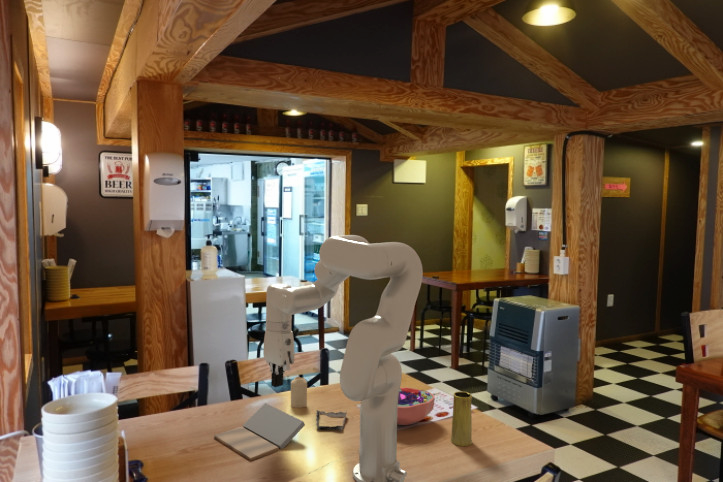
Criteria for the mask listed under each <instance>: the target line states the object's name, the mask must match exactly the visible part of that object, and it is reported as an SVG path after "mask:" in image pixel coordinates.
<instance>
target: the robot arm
mask: <svg viewBox="0 0 723 482" xmlns="http://www.w3.org/2000/svg"><path fill="white" fill-rule="evenodd" d="M318 256H319V260H318V261H317V262H316V263H315V265H314V275H315V278H316V280H315V281H314V282H313V283H310V284H308V285H303V286H301V285H300V286H296V287H292V286H291V285H290V284H288V283H287V284H286V283H272V284H270V285H268V286H267V288H266V301H265V302H266V303H265V305H266V307H265V330H264V332H265V333H264V339H263V359H264V360H265V362H266V363H267V364H268V365H269V369H270V370H269V371H270V373H271V377H270V378H271V379H270V380H271V381H270V382H271V383H270V385H271V387H274V388H278V387H279V388H280V387H282V386H284V374H285V372H287V371H290V370H291V365H293V364H295V353H296V352H295V340H294V333H293V331H292V321H293V320H292V319H293V318H292V317H293V316H292V315H298V314H302V313H306V312H312V311H316V310H318V309H320V308H322V307H323V306H325V305H326V304H328V302H330V300H332V299H333V298H334V297H335V296H336V295H337V293H338V290H339V287H340V285H341V284H342V283H343V282H344V281H346V280H347V279H348V278H349V277H354V278H357V279H362V280H369V281H371V280H378V279H384V278H390V279H389V282H388V283H387V285H386V287H384V289H383V291H382V293H381V297H380V299H379V305H378V307H377V308H378V309H377V311H376V314H375V315H374V316H373V317H371V318H370V317H369V318H367V319H363V320H361V321H359V322H358V323H356V324H355V325H354V327H352V329H351V331H350V333H349V335H348V339H347V341H346V347H345V350H344V355H343V358H342V364H341V368H340V372H339V385H340V389H341V391H342V394H343V395H344V396H345V398H347V399H348V400H350V401H353V402H360V406H359V409H360V410H359V446H358V447H359V449H358V451H359V452H358V455H359V457H358V459H359V461H358V462H359V463H356V465H355V466H354V467H353V469H352V476H353V478H354V480H355V481H356V482H405V479H406V477H407V474H408V473H407V471H405V470H404V469H402V468H401V467H400V466H401V464H400V460H398V459H397V455H398V454H397V451H398V450H397V448H398V447H397V446H398V442H397V441H398V424H397V412H398V396H399V390H400V388H401V385H402V377H403V370H402V365H401V363H400V361H399V360H398V358H397V357H396V356H395V355H394V353H396V352H398V351H400V350H401V349H402V348H403V347H404V346H405V343H406V340H407V338H408V334H409V333H408V332H409V331H410V330H409V329H410V325H411V322H412V318H413V315H414V311H415V305H416V301H417V299H418V296H419V293H420V291H421V286H422V282H423V277H424V276H423V273H424V271H423V264H422V260H421V258H420V257H419V255H418V254H417V252H416V251H415V249H414V248H413V247H411V246H410V245H408V244H406V243H404V242H398V241H390V242H389V241H388V242H387V241H386V242H380V243H379V242H376V243H370V242H369V241H368V240H367V239H366V238H365V237H363V236H361V235H356V234H345V235H333V236H329V237H328V238H327V239H325V240H324V241H323V243H322V244H321V246H320V249H319V254H318Z"/></svg>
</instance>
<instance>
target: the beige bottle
mask: <svg viewBox="0 0 723 482" xmlns="http://www.w3.org/2000/svg"><path fill="white" fill-rule="evenodd" d="M307 403H308V381H307V380H306V378H305V377H300V376H296V377H295V378H294V379H292V380H291V381H290V406H291V407H293V408H297V409H298V408H303V407H305V408H307V406H308V404H307Z"/></svg>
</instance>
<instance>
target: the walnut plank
mask: <svg viewBox="0 0 723 482" xmlns="http://www.w3.org/2000/svg"><path fill="white" fill-rule="evenodd" d="M213 435H214V436H213V438H214V439H215V440H217V441H218V442H220V443H222V444H223V445H225V446H226V447H228V448H229V449H231V450H232V451H234V452H236V453H237V454H239V455H241V456H242V457H243V458H245V459H247V460H248V461H249V462H252V461H254V460H257V459H259V458H261V457H264V456H267V455H270V454H272V453H275V452H277V451H279V447H277V446H276V445H274V444H272V443H270V442H269V441H267V440H265V439H263V438H261V437H260V436H258V435H256V434H254V433H253V432H251V431H249V430H247V429H245V428H244V427H243V426H237V427H235V428H232V429H229V430H226V431H223V432H220V433H217V434H213Z"/></svg>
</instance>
